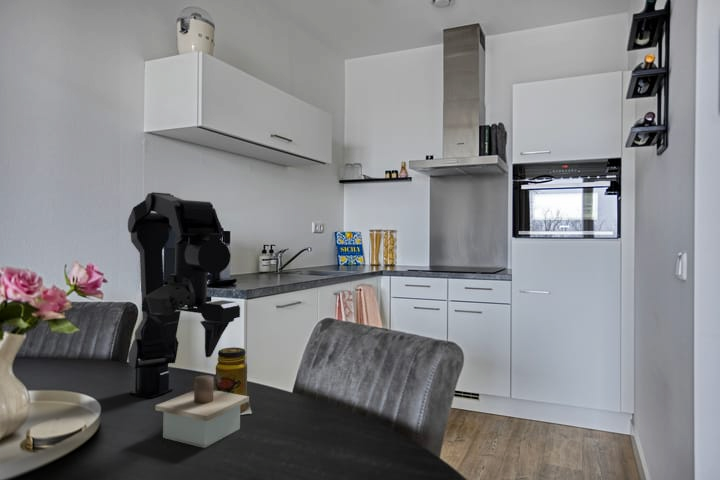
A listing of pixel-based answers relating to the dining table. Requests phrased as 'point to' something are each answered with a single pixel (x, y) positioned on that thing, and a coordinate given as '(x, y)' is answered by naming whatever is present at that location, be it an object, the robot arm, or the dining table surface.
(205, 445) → the mint green open box
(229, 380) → the condiment
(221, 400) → the lid
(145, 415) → the dining table surface
